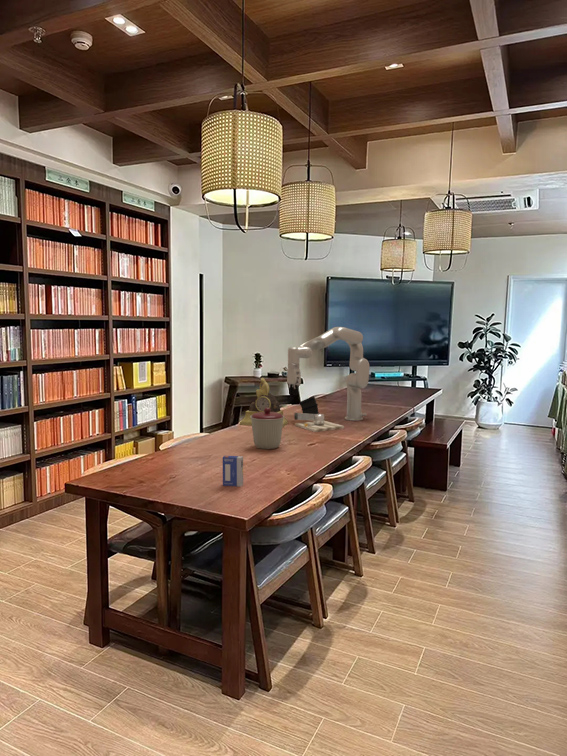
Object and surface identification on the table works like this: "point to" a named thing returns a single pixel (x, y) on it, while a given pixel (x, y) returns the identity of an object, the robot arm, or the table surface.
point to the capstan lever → (310, 417)
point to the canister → (267, 429)
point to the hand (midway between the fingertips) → (293, 394)
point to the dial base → (319, 426)
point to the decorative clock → (263, 404)
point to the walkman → (233, 471)
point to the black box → (309, 406)
